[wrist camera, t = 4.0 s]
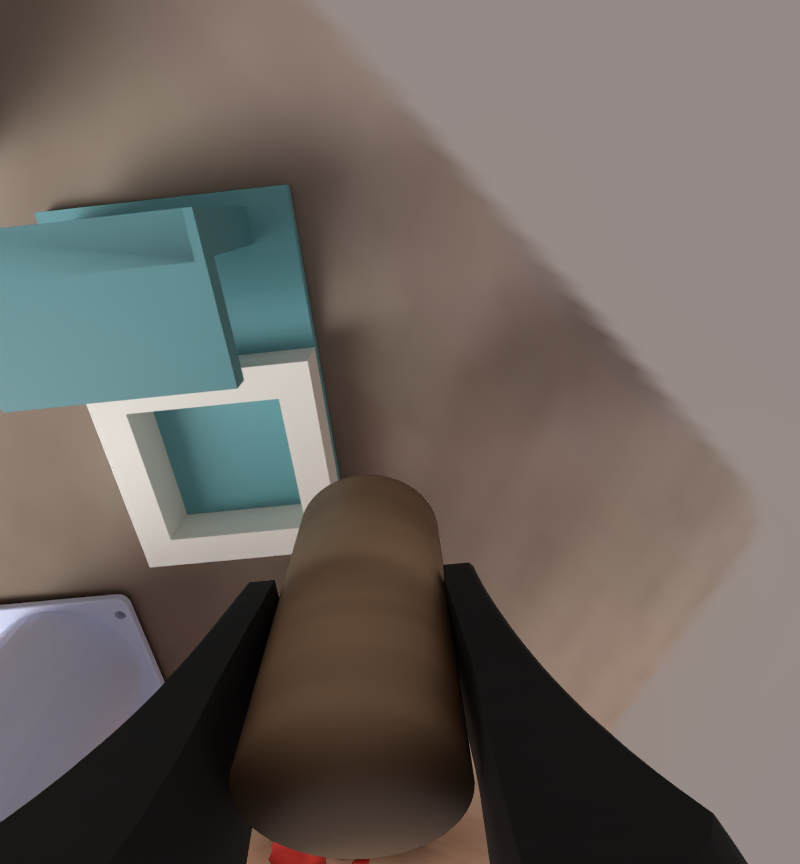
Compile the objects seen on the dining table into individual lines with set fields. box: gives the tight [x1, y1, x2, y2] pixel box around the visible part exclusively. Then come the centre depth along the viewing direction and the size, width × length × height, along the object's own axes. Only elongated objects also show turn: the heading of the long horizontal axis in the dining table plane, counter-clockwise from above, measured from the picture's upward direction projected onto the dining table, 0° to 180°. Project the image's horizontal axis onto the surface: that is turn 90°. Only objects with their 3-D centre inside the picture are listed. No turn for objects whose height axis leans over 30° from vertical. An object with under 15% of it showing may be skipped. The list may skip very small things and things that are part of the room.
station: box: [0, 184, 340, 568], centre depth 17 cm, size 14×8×6 cm, turn 6°
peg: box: [229, 475, 475, 859], centre depth 11 cm, size 4×4×7 cm
